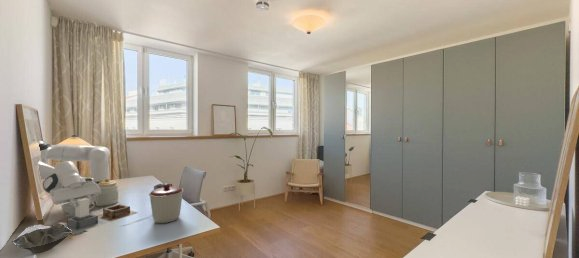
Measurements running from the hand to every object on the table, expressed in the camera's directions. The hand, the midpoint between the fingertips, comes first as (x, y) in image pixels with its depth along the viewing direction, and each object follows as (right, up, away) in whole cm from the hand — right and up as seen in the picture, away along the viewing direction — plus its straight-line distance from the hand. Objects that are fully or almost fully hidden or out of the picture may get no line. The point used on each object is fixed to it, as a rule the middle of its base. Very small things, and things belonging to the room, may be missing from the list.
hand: (82, 205), depth 129 cm
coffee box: (+29, -12, +27) cm, 42 cm away
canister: (+41, -12, +9) cm, 43 cm away
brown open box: (+7, -12, +16) cm, 21 cm away
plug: (-1, -9, 0) cm, 9 cm away
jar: (-17, -12, +40) cm, 45 cm away
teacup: (-16, -12, +16) cm, 26 cm away
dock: (0, -12, 0) cm, 12 cm away
